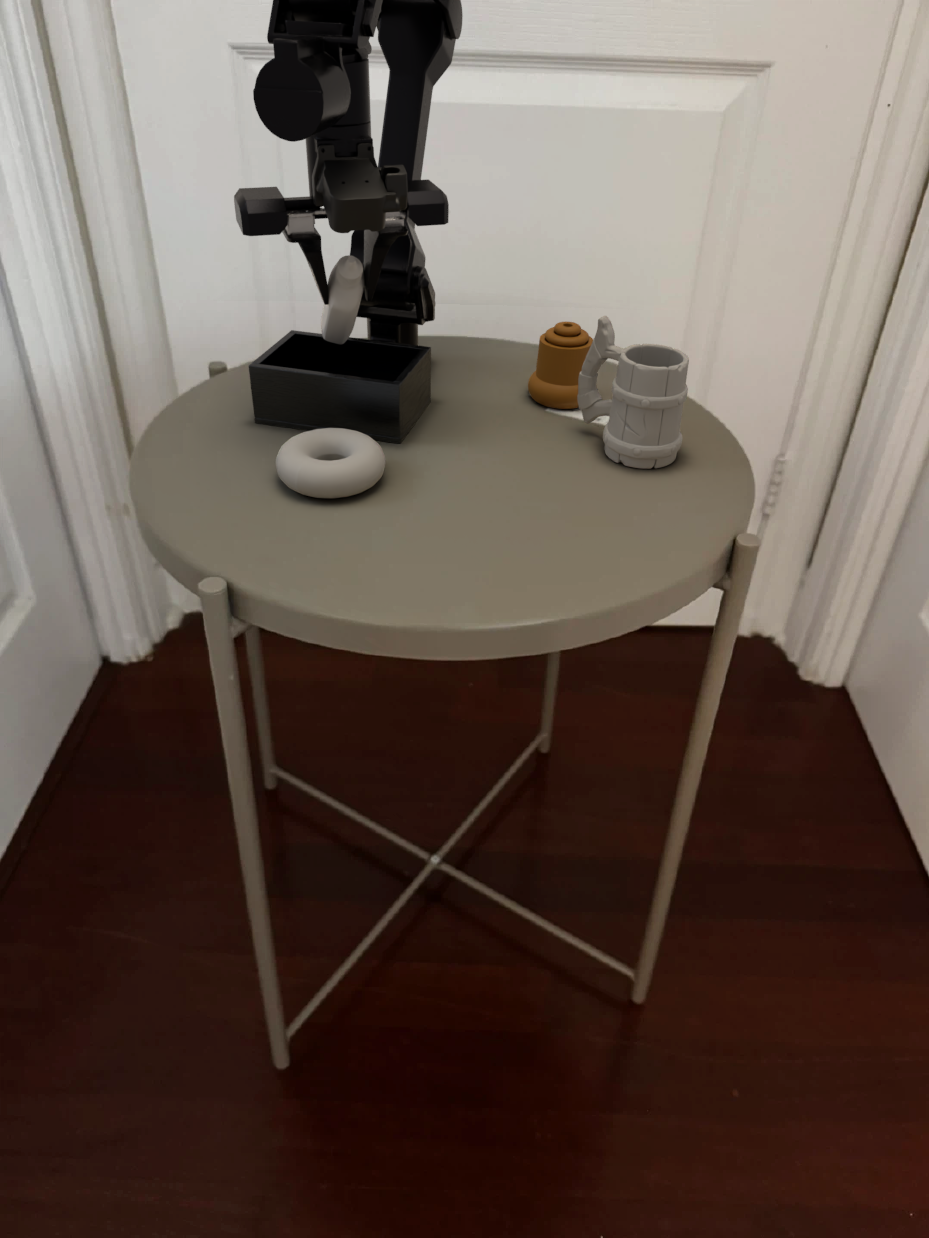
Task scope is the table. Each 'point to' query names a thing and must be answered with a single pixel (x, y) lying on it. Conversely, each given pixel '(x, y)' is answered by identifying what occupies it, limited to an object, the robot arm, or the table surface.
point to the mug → (636, 399)
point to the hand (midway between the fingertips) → (347, 301)
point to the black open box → (342, 385)
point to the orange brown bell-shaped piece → (559, 366)
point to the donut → (330, 463)
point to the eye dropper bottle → (342, 300)
